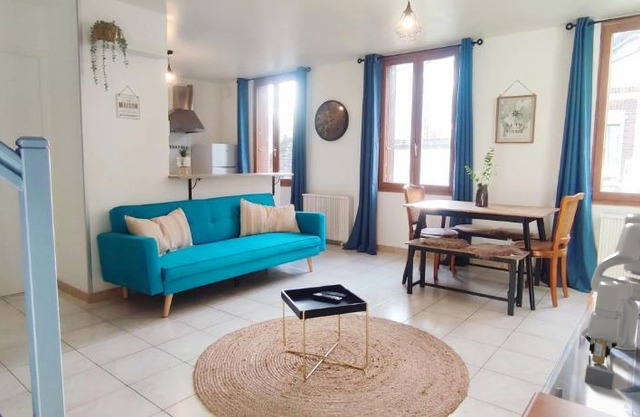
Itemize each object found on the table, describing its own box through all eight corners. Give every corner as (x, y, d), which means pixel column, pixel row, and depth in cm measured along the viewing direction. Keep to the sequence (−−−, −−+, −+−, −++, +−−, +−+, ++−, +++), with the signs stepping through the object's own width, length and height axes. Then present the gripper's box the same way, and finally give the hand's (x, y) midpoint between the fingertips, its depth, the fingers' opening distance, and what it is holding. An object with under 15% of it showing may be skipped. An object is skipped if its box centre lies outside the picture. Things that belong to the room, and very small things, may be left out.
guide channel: (585, 353, 184) (587, 340, 183) (609, 359, 180) (611, 346, 179) (584, 381, 161) (586, 366, 160) (611, 389, 157) (614, 374, 156)
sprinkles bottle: (607, 364, 173) (612, 333, 171) (596, 364, 173) (601, 333, 170) (599, 358, 177) (604, 328, 175) (588, 358, 177) (593, 328, 175)
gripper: (630, 314, 170) (623, 357, 173) (581, 304, 179) (575, 345, 182) (632, 320, 164) (624, 364, 167) (581, 309, 173) (574, 351, 176)
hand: (598, 354), depth 174 cm, fingers closed on sprinkles bottle, 4 cm apart
